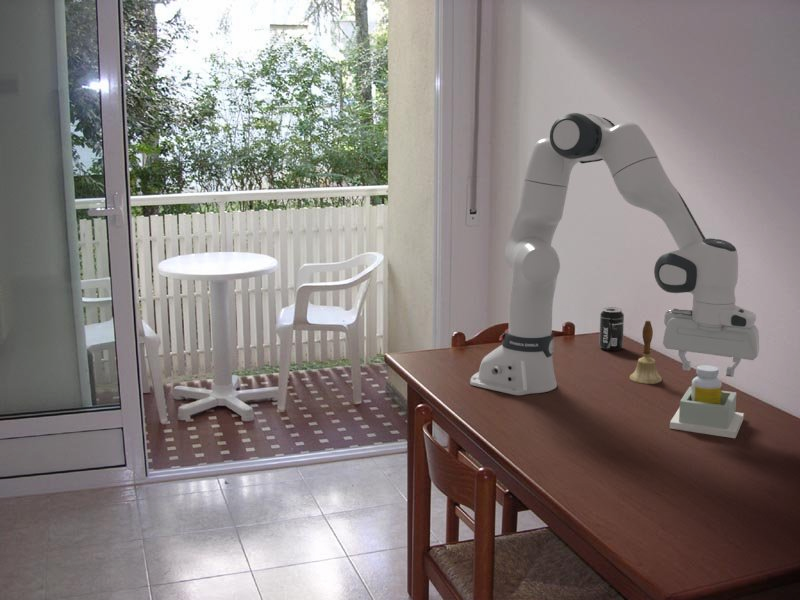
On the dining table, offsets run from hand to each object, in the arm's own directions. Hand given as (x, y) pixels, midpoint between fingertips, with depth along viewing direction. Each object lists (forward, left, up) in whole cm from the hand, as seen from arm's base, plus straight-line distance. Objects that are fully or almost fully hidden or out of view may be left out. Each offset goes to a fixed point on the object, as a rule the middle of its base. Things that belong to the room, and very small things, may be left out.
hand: (707, 372), depth 198 cm
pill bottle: (0, +1, -11) cm, 11 cm away
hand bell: (-20, +28, -13) cm, 36 cm away
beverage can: (-36, +53, -13) cm, 65 cm away
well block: (0, +1, -12) cm, 12 cm away
